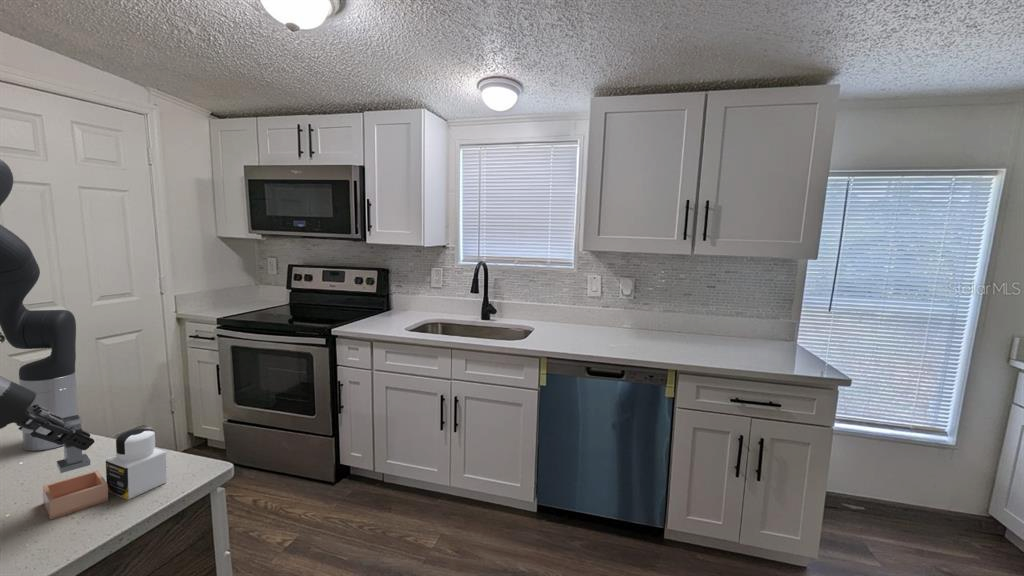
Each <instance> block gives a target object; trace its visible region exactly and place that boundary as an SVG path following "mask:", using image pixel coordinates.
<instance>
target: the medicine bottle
mask: <svg viewBox="0 0 1024 576" xmlns="http://www.w3.org/2000/svg"><path fill="white" fill-rule="evenodd" d="M115 447H116V451H115V454H116V455H113V456H110V457H107V458H106V459H105V474H106V476H105V477H106V479H105V481H106V482H107V484H108V493H111V494H113V495H116V496H117V497H121V498H123V499H125V500H127V501H129V500H131V499H133V498H135V497H137V496H140V495H142V494H144V493H146V492H149V491H151V490H154V489H155V488H157V487H159V486H160V487H161V486H162V485H164V484H165V483H167V480H168V477H167V474H168V473H167V451H164V450H162V449H159V448H156V433H155V431H154V430H153V429H150V428H137V429H131V430H127V431H125V432H123V433H121V434H120V435H119V436H117V437H116V438H115Z"/></svg>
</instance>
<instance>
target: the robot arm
mask: <svg viewBox="0 0 1024 576" xmlns="http://www.w3.org/2000/svg"><path fill="white" fill-rule="evenodd" d="M13 187H14V175H13V172H12V170H11V168H10V166H9V165H8V164H7V163H6V162H5V161H4V160H2V159H0V207H1V206H2V205H3V204H4V202H5V201H6V200H7V199H8V197H9V195H10V194H11V192H12V189H13ZM40 274H41V269H40V267H39V264H38V262H37V260H36V258H35V256H34V254H33V252H32V249H31V248H30V247H29V244H27V243H26V242H25V241H24V240H23V239H21V238H20V236H18V235H17V234H15V233H14V232H12V231H11V230H10V229H8V228H6V227H5V226H4V225H2V224H1V223H0V329H1V331H2V332H3V335H4V337H5V340H6V341H7V342H8V344H10V345H11V346H12V347H13V348H15V349H20V350H37V349H40V350H41V349H51V351H50V355H48V356H46V357H44V358H41V359H38V360H34V361H30V362H28V363H26V364H25V363H24V364H23V365H21V367H20V368H19V369H18V379H19V383H16V382H14V381H11V380H10V379H7V378H5V377H3V376H2V375H0V430H1V429H4V428H6V427H7V426H8V425H11V424H13V423H14V424H15V425H16V426H18V430H19V431H21V432H22V444H23V449H24V450H25V451H29V452H30V451H34V452H35V451H44V450H51V449H54V448H55V449H56V448H59V447H62V446H63V447H64V443H66V444H69V445H71V446H74V447H76V448H79V449H81V450H82V451H86V450H88V449H89V448H91V446H92V445H93V444H94V443H95V439H94V438H92V437H91V434H90V433H89V432H87V431H85V430H83V429H82V434H81V433H78V432H76V431H75V430H74V429H71V428H69V427H67V426H65V425H64V421H62V418H64V417H69V416H74V415H79V414H78V398H77V397H78V395H77V394H78V393H77V382H76V381H77V379H76V361H77V360H76V356H77V355H76V354H77V351H76V342H77V341H76V340H77V339H76V337H77V321H76V317H75V316H74V314H73V312H72V311H70V310H66V309H41V310H40V309H39V310H36V309H34V310H29V309H27V308H26V307H25V306H24V305H25V304H24V301H25V298H26V296H27V295H28V294H29V293H30V292H31V291H32V289H33V288H34V287H35V285H36V284H37V282H38V280H39V278H40ZM63 433H64V434H63Z"/></svg>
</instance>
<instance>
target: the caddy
mask: <svg viewBox="0 0 1024 576" xmlns="http://www.w3.org/2000/svg"><path fill="white" fill-rule="evenodd" d="M42 499H43V506H44V508H45V510H46V513H47V515H48V517H49V520H51V521H52V520H55V519H57V518H60V517H63V516H66V515H68V514H72V513H75V512H78V511H81V510H84V509H87V508H90V507H92V506H95V505H98V504H101V503H102V504H103V503H105V502H108V501H109V492H108V484H107V480H106V479H105V478H104V477H103V475H102V473H101V472H100V470H98V469H97V470H93V471H90V472H86V473H83V474H80V475H76V476H73V477H69V478H65V479H62V480H59V481H58V480H57V481H55V482H52V483H48V484H46V485H42Z"/></svg>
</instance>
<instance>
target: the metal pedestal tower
mask: <svg viewBox="0 0 1024 576" xmlns="http://www.w3.org/2000/svg"><path fill="white" fill-rule="evenodd" d="M62 421H64V425H65V426H67V427H69V428H71V429H74V430H75V431H76V432H78V433H81V434H82V430H83V428H82V423H83V419H82V417H81V416H80V415H79V414H78V415H74V416H69V417H64V418H62ZM63 434H64V433H63ZM63 453H64V458H63V459H59V460H57V461H56V466H57V469H58V471H59V473H60V474H63V473H67V472H71V471H74V470H78V469H82V468H86V467H88V466H91V459H90V458H89V456H88V454H87V453H83V450H81V449H79V448H76V447H74V446H71V445H69V444H66V443H64V445H63Z"/></svg>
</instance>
